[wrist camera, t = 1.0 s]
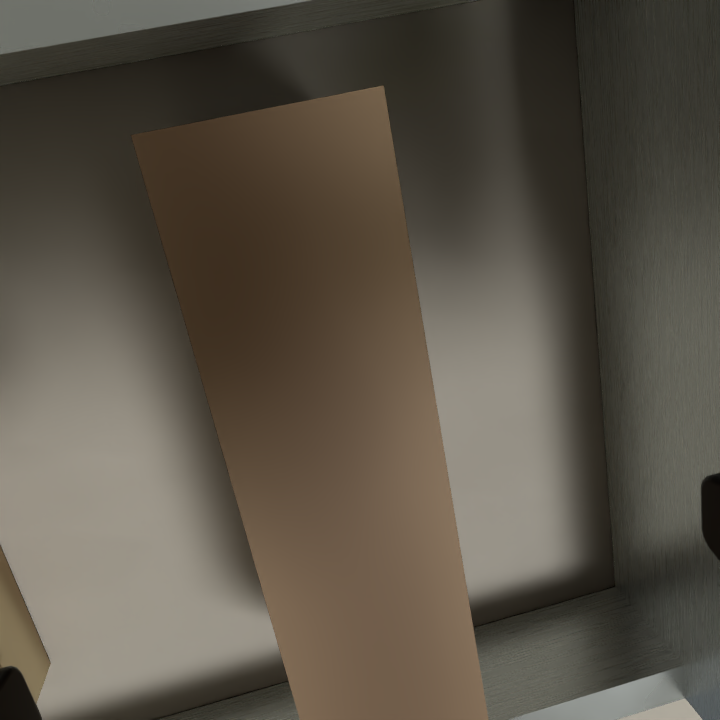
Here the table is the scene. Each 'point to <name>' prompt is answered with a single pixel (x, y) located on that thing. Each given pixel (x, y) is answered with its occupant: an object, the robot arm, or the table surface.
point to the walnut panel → (323, 398)
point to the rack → (613, 315)
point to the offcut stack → (19, 634)
